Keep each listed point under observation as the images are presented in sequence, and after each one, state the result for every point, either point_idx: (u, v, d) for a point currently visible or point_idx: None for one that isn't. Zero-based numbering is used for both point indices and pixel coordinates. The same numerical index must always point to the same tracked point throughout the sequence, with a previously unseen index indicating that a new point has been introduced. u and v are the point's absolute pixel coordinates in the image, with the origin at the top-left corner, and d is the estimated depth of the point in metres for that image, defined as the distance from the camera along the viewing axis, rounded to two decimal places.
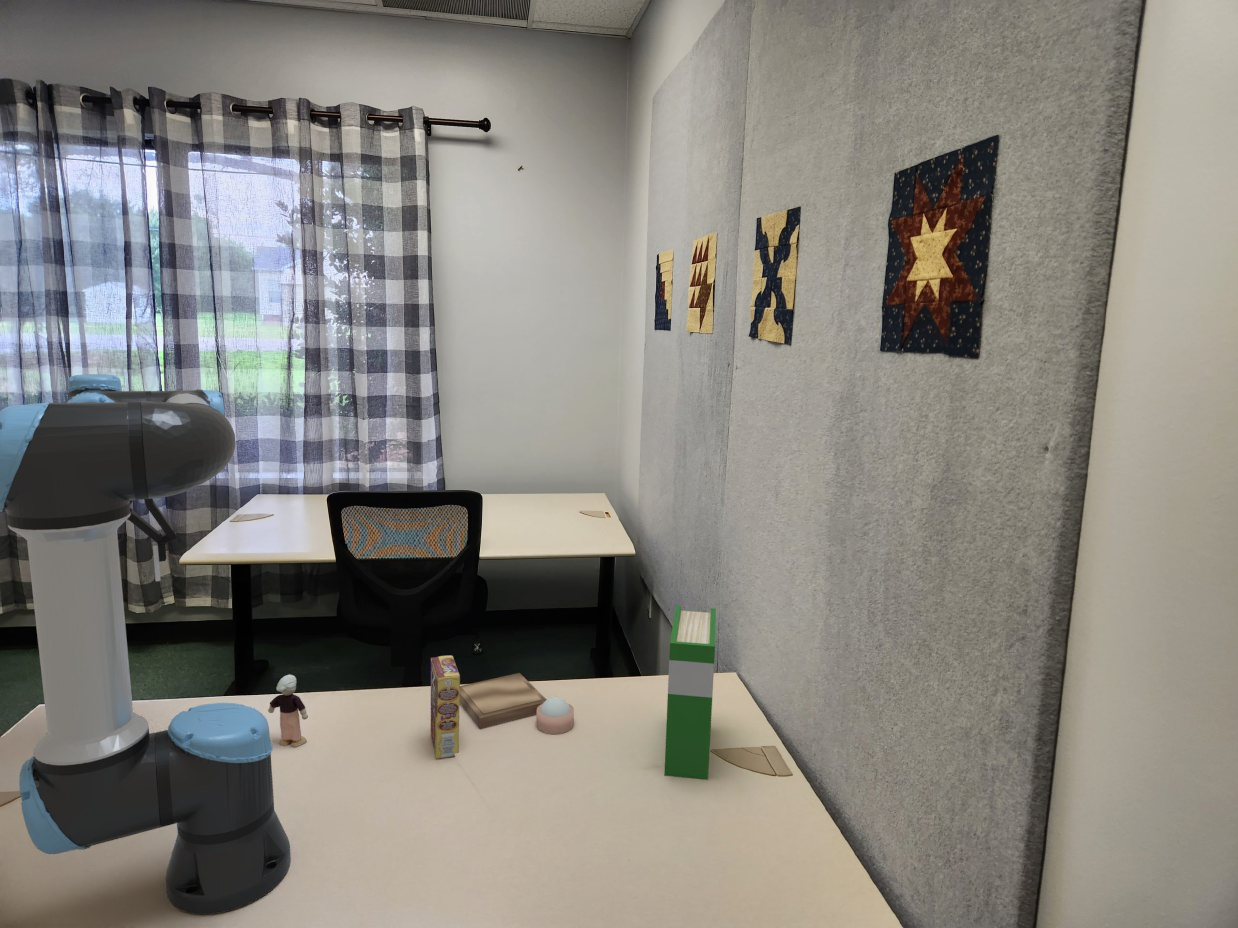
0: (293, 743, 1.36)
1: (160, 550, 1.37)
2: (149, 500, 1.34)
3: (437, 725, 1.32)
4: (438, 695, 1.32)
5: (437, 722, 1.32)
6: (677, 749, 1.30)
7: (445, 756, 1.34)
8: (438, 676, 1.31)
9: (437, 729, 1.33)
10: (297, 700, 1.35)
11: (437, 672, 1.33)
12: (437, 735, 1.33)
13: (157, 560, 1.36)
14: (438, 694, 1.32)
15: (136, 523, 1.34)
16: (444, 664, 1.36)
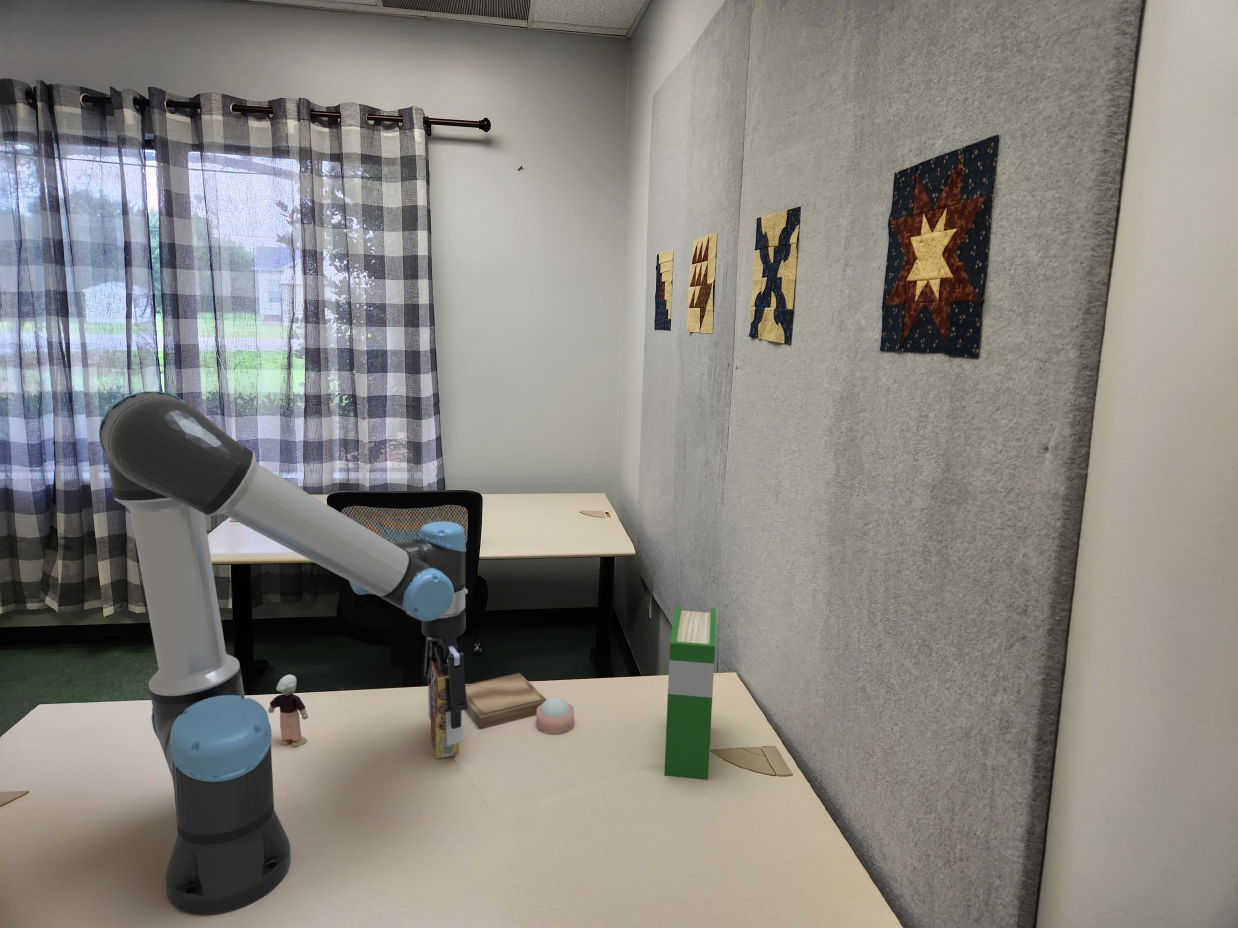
0: (293, 743, 1.36)
1: (451, 716, 1.31)
2: (449, 664, 1.29)
3: (437, 725, 1.32)
4: (438, 695, 1.32)
5: (437, 722, 1.32)
6: (677, 749, 1.30)
7: (445, 756, 1.34)
8: (438, 676, 1.31)
9: (437, 729, 1.33)
10: (297, 700, 1.35)
11: (437, 672, 1.33)
12: (437, 735, 1.33)
13: (446, 724, 1.32)
14: (438, 694, 1.32)
15: None
16: (444, 664, 1.36)
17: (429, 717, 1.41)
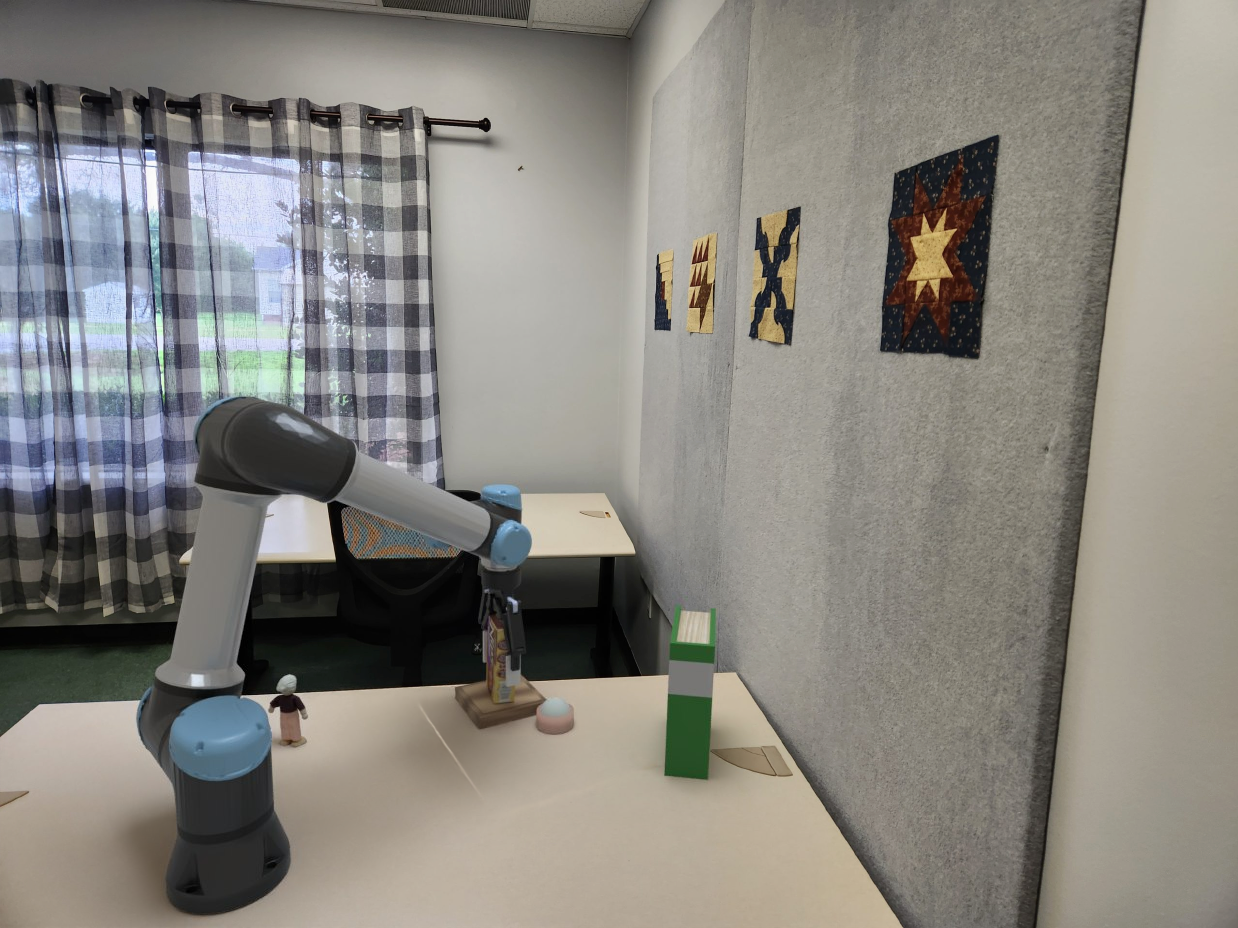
0: (293, 743, 1.36)
1: (511, 659, 1.44)
2: (508, 611, 1.42)
3: (496, 673, 1.46)
4: (497, 645, 1.45)
5: (496, 670, 1.46)
6: (677, 749, 1.30)
7: (502, 701, 1.47)
8: (498, 628, 1.45)
9: (496, 676, 1.46)
10: (297, 700, 1.35)
11: (496, 625, 1.46)
12: (496, 682, 1.46)
13: (506, 667, 1.44)
14: (497, 644, 1.45)
15: (503, 626, 1.45)
16: None
17: (483, 660, 1.55)
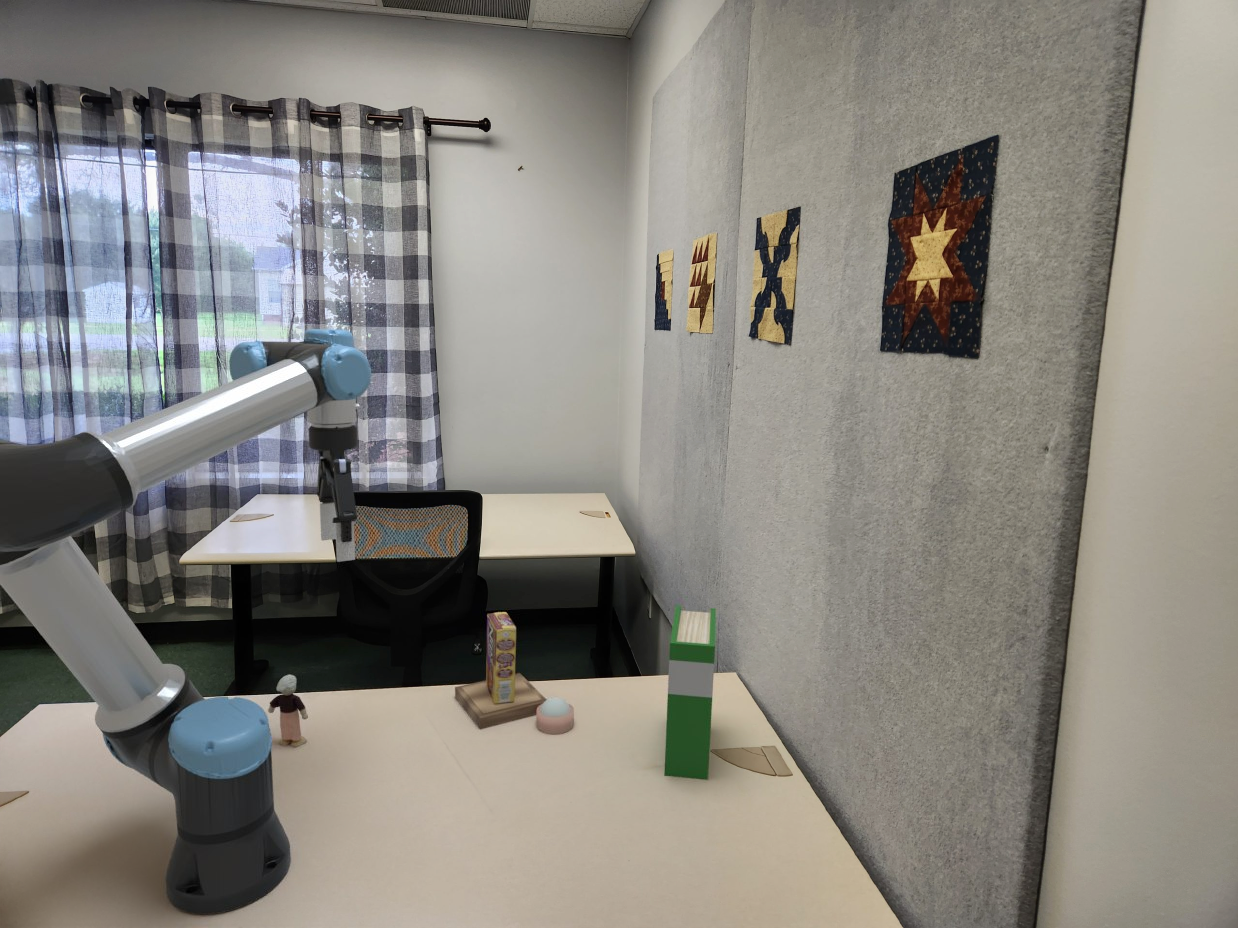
0: (293, 743, 1.36)
1: (341, 529, 1.22)
2: (334, 470, 1.21)
3: (495, 673, 1.46)
4: (497, 645, 1.45)
5: (495, 670, 1.46)
6: (677, 749, 1.30)
7: (502, 702, 1.47)
8: (497, 628, 1.45)
9: (495, 677, 1.46)
10: (297, 700, 1.35)
11: (495, 625, 1.46)
12: (495, 682, 1.46)
13: (336, 538, 1.22)
14: (497, 644, 1.45)
15: (332, 491, 1.23)
16: (501, 619, 1.49)
17: (321, 538, 1.34)
